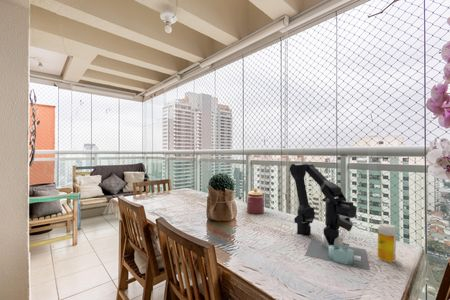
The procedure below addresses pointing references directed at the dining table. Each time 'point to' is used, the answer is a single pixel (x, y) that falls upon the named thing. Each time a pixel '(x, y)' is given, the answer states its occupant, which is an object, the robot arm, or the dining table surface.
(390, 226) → the beer can
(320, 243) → the rubber mat
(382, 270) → the dining table surface
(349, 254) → the teal connector
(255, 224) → the dining table surface
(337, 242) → the white rounded piece
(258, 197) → the canister
